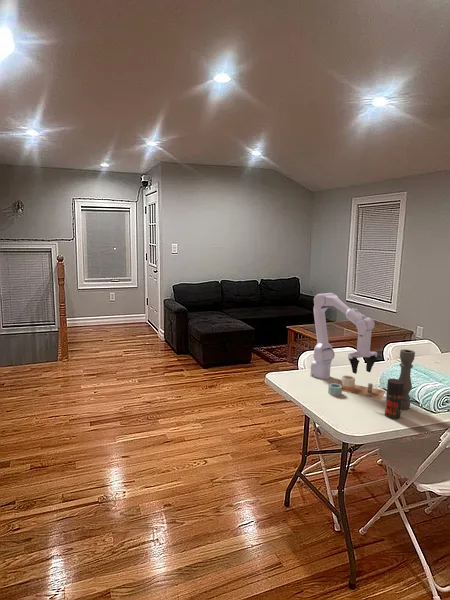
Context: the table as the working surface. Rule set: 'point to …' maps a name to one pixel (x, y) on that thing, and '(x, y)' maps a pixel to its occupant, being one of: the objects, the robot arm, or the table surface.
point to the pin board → (365, 391)
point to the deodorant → (394, 398)
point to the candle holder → (406, 376)
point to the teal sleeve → (335, 389)
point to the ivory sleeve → (348, 382)
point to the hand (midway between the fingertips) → (361, 372)
